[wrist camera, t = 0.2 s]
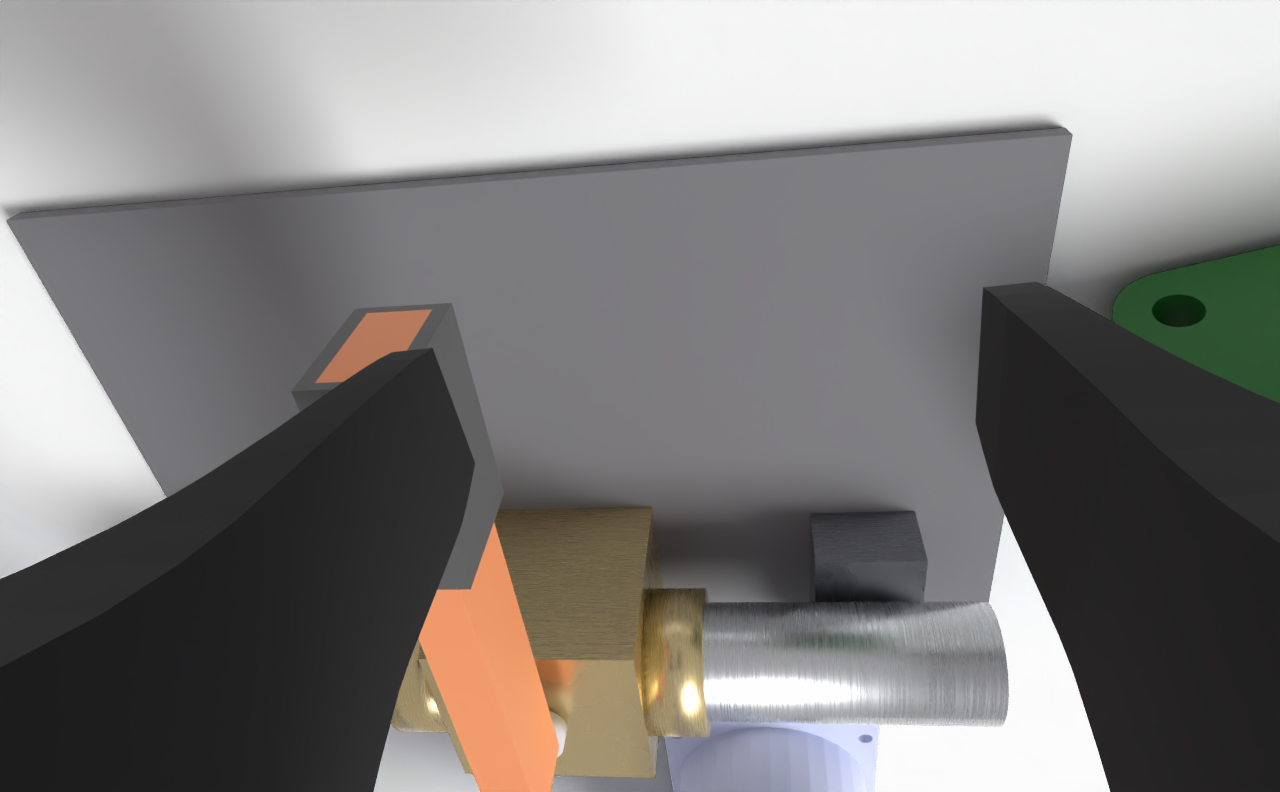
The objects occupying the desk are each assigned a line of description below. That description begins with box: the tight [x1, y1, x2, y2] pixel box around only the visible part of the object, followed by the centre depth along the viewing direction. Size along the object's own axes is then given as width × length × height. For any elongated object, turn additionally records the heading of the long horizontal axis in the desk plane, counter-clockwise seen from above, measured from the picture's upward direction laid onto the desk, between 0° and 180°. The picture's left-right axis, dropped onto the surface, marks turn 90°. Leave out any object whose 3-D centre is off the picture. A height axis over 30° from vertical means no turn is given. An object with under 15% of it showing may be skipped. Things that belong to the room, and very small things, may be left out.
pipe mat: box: [6, 128, 1072, 602], centre depth 25 cm, size 18×26×1 cm
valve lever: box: [291, 303, 567, 792], centre depth 17 cm, size 14×2×3 cm, turn 6°
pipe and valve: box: [391, 506, 1009, 778], centre depth 25 cm, size 5×24×6 cm, turn 96°
